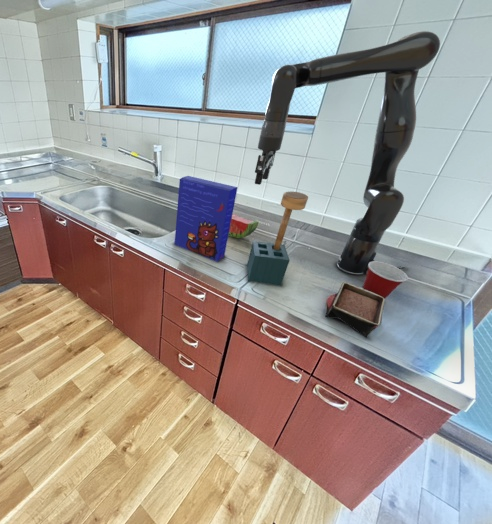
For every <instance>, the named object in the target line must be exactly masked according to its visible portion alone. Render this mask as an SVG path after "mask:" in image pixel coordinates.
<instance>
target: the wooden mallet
mask: <svg viewBox="0 0 492 524" xmlns="http://www.w3.org/2000/svg"><path fill="white" fill-rule="evenodd" d="M308 199H309V196H308V194H305V193H303V192H300V191H285V192H283V194H282V198H281V201H280V206H281V207H283V208H284V212H283V215H282V218H281V221H280V224H279V228H278V231H277V234H276V238H275V241H274V243H273V244H274V247H273V249H274V250H280V247H281V245H283V240H284V237H285V234H286V231H287V228H288V225H289V221H290V219H291V216H292V213H293V211H302V210H304V209H305V208H306V205H307V203H308Z"/></svg>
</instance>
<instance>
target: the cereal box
mask: <svg viewBox="0 0 492 524" xmlns="http://www.w3.org/2000/svg"><path fill="white" fill-rule="evenodd" d="M237 192H238V186H233V185H229V184H227V183H221V182H217V181H211V180H208V179H204V178H201V177H195V176H190V175H186V176H183V177H180V178H179V182H178V194H177V195H178V196H177V208H176V209H177V210H176V218H175V219H176V221H175V233H174V245H175V246H177V247H180V248H182V249H184V250H187V251H190V252H192V253H194V254H196V255H199V256H201V257H204V258H207V259H209V260H211V261H213V262H217V263H218V262H219V261H220V260H222V259H224V258H225V255H226V250H227V244H228V239H229V236H228V234H229V229H230V224H231V219H232V214H234V208H235V203H236V199H237V198H236V197H237Z"/></svg>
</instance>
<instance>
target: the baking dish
mask: <svg viewBox="0 0 492 524" xmlns="http://www.w3.org/2000/svg"><path fill="white" fill-rule="evenodd" d="M385 303H386V298H385V299H384V298H383V297H381V296H379V295H377V294H375V293H373V292H370V291H368V290H365V289H363V287H360V286H357V285H355V284H352V283H348V282H341V285H340V287H339V289H338V291H337V293H335V294H331V295H329V296H328V297H327V299H326V309H325V314H324V318H330V319H339V320H340V321H342V322H343V323H344V324H346V325H348V326H349V327H350V328H352V329H354V331H356V332H358V333H359V334H360V335H362V336H364V337H365V338H366V339H367V338H368V337H369V336H370V334H371V333H372V332H373V331H374V330H375V329H377V328H378V327H379V326H381V324H382V322H383V321H382V320H383V313H384V307H385Z"/></svg>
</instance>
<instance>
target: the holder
mask: <svg viewBox="0 0 492 524" xmlns="http://www.w3.org/2000/svg"><path fill="white" fill-rule="evenodd" d="M274 244H275V243H273V242H272V243H271V242H265V241H255V240H253V241H252V243H251V246H250V252H249V255H248V259H247V264H246V270H247V271H246V272H247V281H248V282H252V283H253V282H254V283H260V284H266V285H272V286H279V287H282V285H283V281H284V278H285V277H286V276H285V275H286V272H287V269H288V267H289V263H290V257H289V253H288V250H287V248H286V245H285V244H281V247H280V250H274V249H273V247H274Z"/></svg>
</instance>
